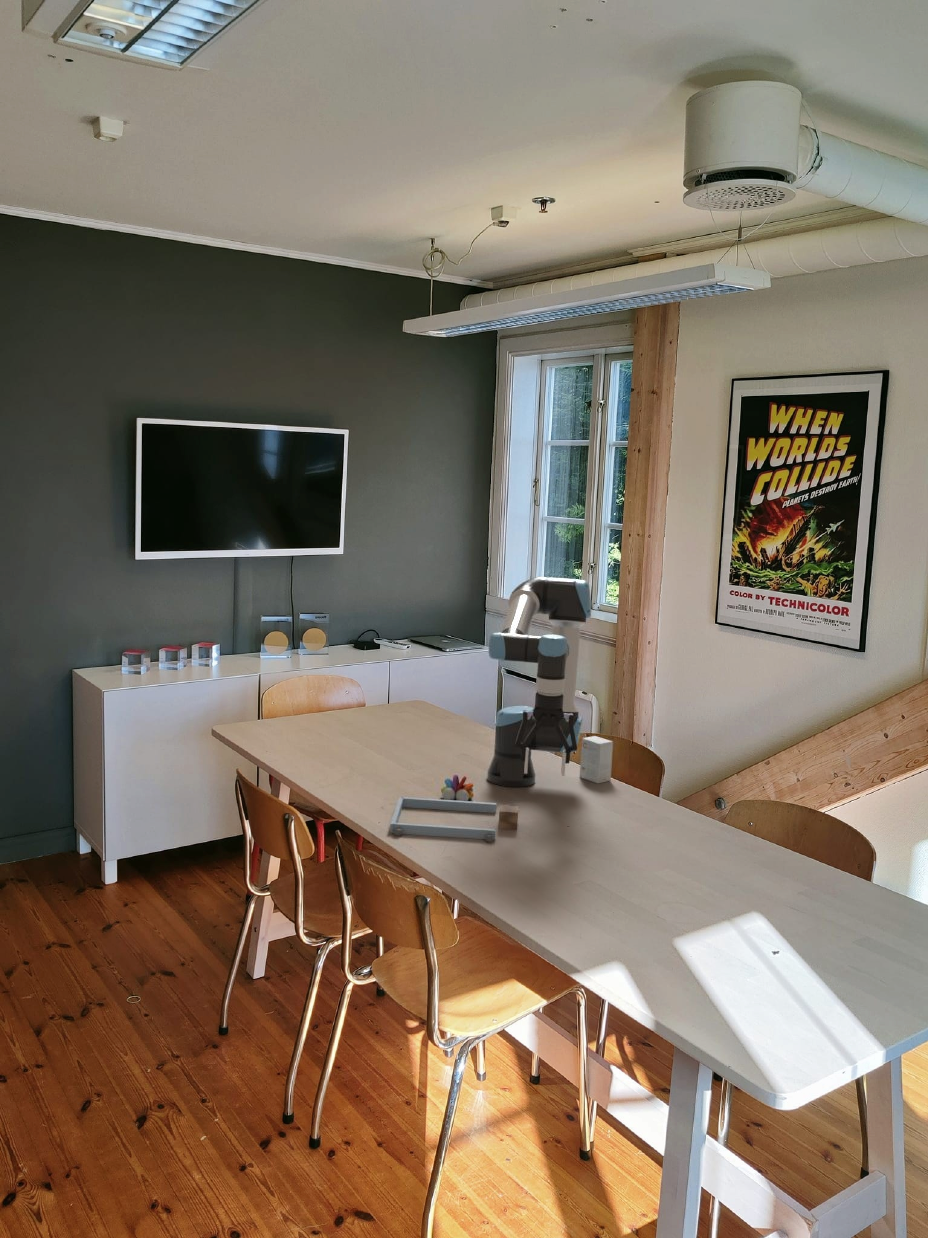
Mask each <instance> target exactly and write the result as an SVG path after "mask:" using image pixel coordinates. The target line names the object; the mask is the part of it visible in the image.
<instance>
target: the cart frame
mask: <svg viewBox="0 0 928 1238" xmlns="http://www.w3.org/2000/svg"><path fill="white" fill-rule="evenodd" d="M404 808H412V809H413V808H414V809H430V810H442V811H443V810H446V811H460V812H473V813H474V812H476V813H477V812H478V813H490V814H497V813H496V812H497V803H496V802H483V801H469V800H468V801H457V800H455V799H454V800H445V799H439V798H438V799H436V798H420V797H407V796H405V797H404V796H399V797H398V800H397V802H396V806H395V808H394V812H393V815H392V817H391V821H390V824H389V825H390V826H389V833H390V834H393V836H394V837H402V835H416V836H431V837H447V838H461V839H475V840H484V842H486V843H489V844H490V843H493V841H496V832H497V831H496V829H494V828H485V827H483V828H481V827H465V826H451V825H435V824H421V823H420V824H419V823H406V822H399V820H400V817H401V814H402V809H404Z"/></svg>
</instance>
